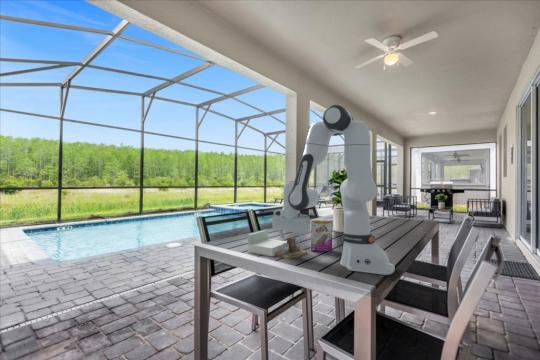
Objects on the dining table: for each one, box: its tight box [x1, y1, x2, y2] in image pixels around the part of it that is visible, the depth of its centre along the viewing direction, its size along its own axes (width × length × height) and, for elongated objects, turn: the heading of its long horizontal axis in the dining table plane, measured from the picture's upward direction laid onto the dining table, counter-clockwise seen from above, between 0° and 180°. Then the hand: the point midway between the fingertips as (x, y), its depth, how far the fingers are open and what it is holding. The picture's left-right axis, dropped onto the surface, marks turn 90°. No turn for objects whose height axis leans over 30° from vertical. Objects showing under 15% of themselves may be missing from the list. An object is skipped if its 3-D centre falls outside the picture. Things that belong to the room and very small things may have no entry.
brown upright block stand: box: [275, 237, 308, 260], centre depth 133 cm, size 9×14×8 cm, turn 135°
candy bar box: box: [310, 218, 334, 253], centre depth 141 cm, size 11×5×16 cm, turn 84°
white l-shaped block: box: [247, 229, 287, 257], centre depth 140 cm, size 15×17×9 cm
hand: (290, 240), depth 133 cm, fingers open, 8 cm apart
